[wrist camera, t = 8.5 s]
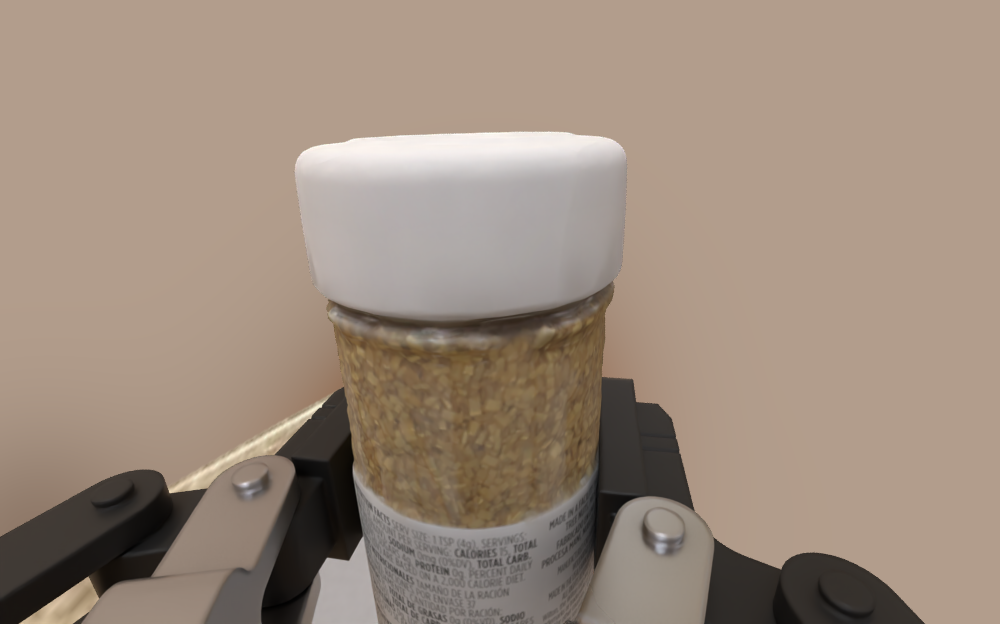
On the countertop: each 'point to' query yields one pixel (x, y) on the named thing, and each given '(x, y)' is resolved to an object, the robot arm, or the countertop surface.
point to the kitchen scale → (346, 591)
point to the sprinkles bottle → (470, 359)
